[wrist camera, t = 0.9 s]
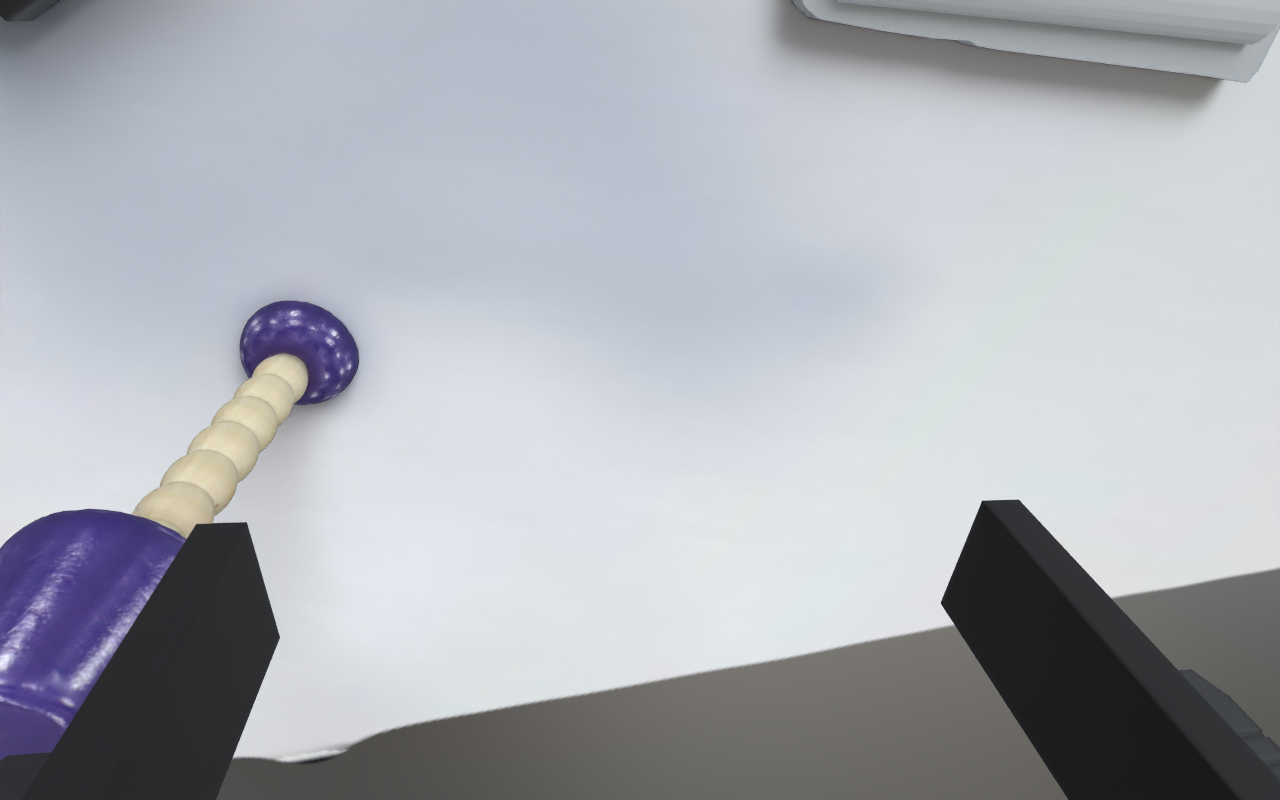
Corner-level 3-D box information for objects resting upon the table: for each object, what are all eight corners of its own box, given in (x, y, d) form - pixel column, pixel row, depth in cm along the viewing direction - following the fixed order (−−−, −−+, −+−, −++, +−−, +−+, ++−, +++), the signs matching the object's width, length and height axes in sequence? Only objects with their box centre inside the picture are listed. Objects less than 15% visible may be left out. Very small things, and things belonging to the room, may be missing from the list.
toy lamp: (241, 397, 28) (-78, 828, 13) (212, 287, 25) (-212, 669, 11) (366, 396, 28) (188, 807, 14) (349, 289, 26) (114, 652, 12)
